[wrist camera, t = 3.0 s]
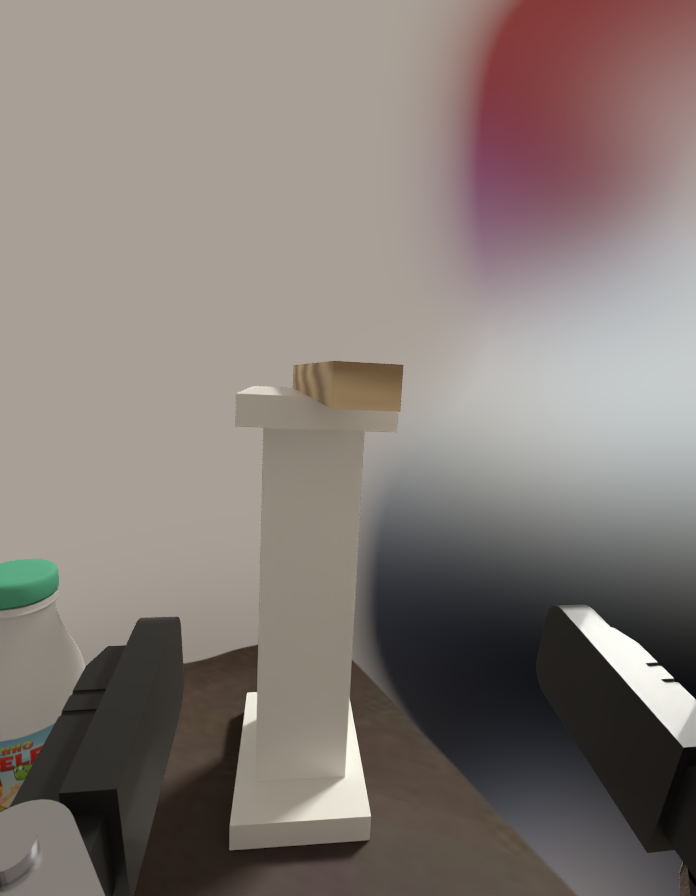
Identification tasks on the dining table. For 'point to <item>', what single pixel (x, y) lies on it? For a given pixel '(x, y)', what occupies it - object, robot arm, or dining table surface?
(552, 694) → the robot arm
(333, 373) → the slat
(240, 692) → the dining table surface
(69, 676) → the milk bottle
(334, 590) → the stand
